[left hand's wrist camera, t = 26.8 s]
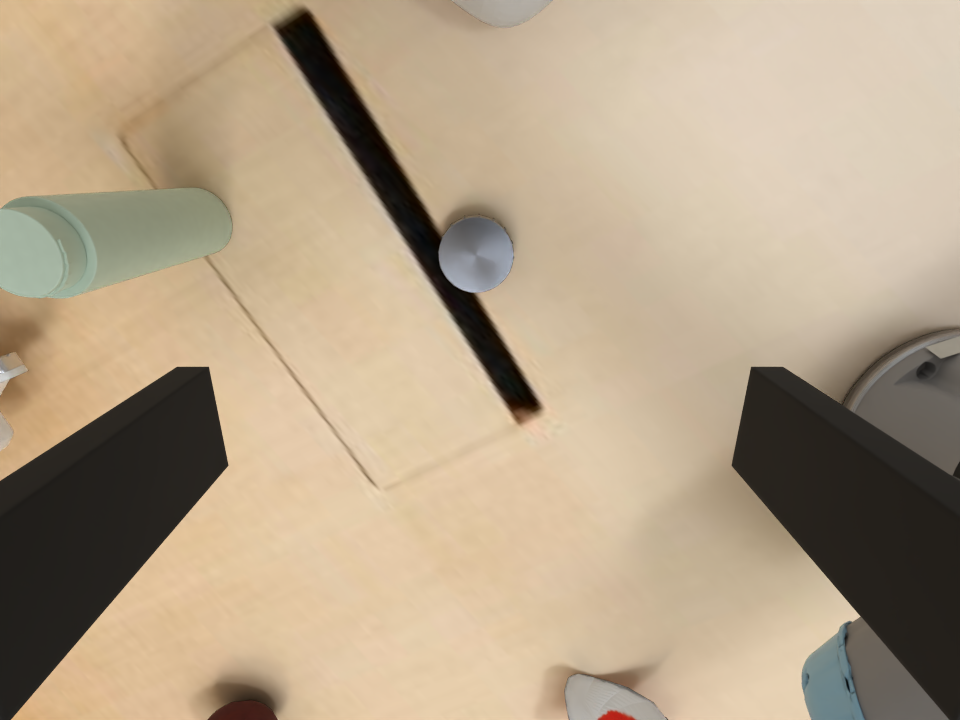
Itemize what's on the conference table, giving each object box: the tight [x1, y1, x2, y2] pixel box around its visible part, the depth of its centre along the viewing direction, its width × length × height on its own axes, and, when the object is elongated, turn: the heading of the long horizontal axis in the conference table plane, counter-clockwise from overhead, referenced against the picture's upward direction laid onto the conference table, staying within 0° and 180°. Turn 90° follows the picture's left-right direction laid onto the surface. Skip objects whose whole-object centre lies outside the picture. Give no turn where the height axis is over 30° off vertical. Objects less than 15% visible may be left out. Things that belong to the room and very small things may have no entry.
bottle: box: [0, 188, 232, 298], centre depth 29 cm, size 5×5×15 cm
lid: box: [438, 214, 514, 293], centre depth 36 cm, size 5×5×2 cm
